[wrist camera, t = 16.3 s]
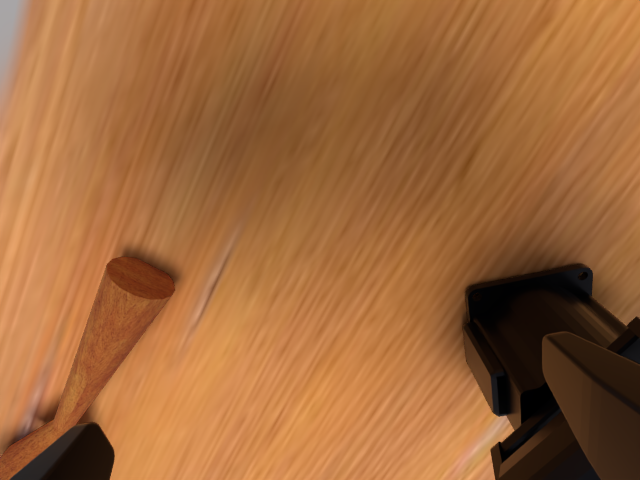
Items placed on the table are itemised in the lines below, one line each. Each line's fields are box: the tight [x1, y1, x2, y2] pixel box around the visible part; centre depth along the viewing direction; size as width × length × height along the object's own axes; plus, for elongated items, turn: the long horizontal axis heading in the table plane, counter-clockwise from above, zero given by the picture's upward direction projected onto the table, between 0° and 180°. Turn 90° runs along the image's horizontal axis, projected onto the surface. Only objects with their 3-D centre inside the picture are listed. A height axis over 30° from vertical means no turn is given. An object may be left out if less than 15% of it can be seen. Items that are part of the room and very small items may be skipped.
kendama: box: [0, 257, 175, 480], centre depth 23 cm, size 6×6×20 cm
